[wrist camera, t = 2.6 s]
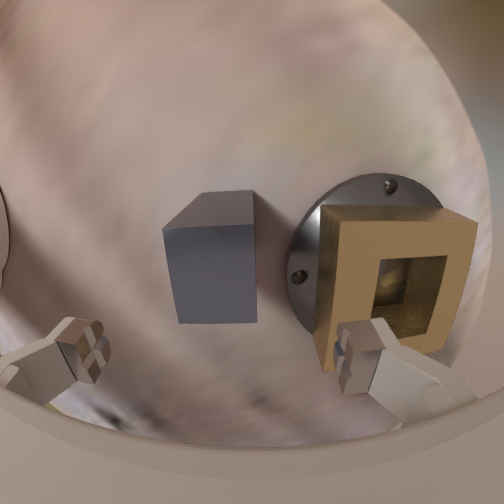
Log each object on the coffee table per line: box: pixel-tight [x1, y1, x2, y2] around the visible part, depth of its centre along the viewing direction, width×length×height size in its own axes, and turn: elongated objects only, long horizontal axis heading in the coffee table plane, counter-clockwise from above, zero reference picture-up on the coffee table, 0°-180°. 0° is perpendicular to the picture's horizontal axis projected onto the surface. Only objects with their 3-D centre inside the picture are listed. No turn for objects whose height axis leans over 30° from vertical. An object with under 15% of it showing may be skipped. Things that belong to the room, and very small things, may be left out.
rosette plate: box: [286, 173, 478, 372], centre depth 20 cm, size 17×17×6 cm
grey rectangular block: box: [162, 190, 257, 324], centre depth 17 cm, size 4×5×10 cm
